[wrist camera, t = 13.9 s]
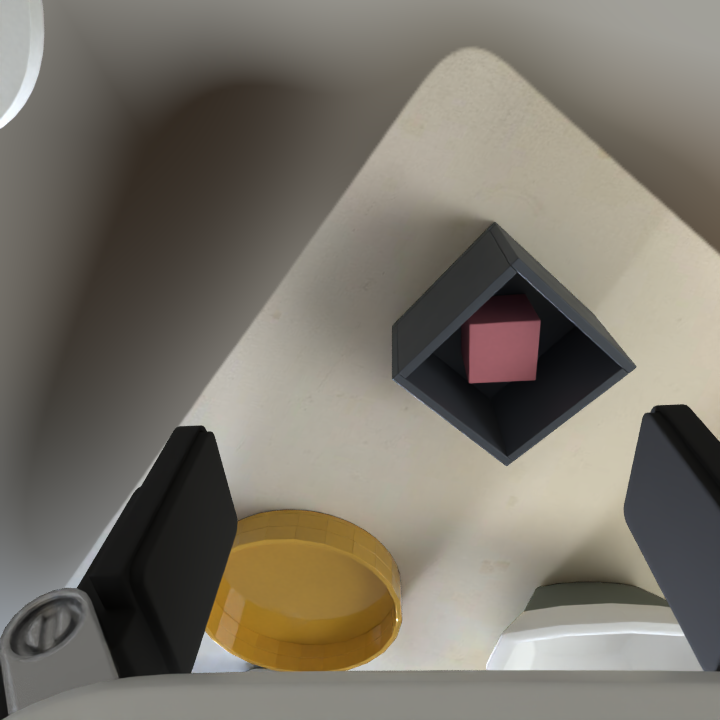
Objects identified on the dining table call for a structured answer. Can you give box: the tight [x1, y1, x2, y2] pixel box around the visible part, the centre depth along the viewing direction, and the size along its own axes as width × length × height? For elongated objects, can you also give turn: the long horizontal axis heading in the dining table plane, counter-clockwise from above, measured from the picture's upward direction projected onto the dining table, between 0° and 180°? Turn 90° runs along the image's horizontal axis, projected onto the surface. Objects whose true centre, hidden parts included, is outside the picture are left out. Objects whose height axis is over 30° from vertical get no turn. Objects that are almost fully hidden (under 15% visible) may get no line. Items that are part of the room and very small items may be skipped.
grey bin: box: [392, 222, 636, 466], centre depth 35 cm, size 10×10×8 cm
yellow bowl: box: [205, 510, 402, 672], centre depth 52 cm, size 20×20×4 cm
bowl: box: [486, 582, 703, 671], centre depth 50 cm, size 22×23×8 cm
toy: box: [461, 294, 541, 383], centre depth 36 cm, size 4×4×4 cm
